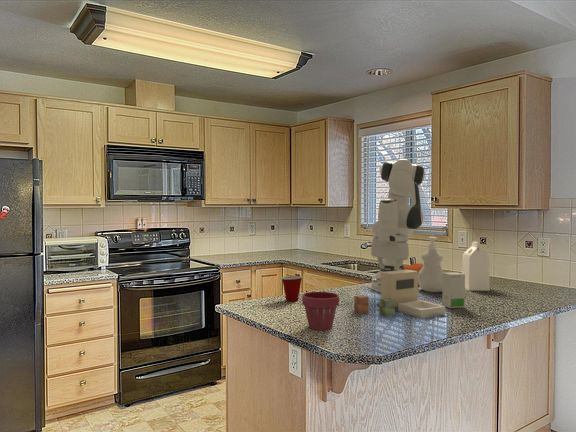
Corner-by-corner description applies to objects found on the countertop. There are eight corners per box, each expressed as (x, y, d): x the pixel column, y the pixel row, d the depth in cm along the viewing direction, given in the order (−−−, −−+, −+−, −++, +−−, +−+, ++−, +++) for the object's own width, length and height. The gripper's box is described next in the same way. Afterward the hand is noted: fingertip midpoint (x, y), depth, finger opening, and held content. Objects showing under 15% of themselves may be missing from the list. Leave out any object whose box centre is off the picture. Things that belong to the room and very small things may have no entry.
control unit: (377, 306, 215) (377, 271, 215) (406, 302, 224) (406, 268, 223) (391, 310, 207) (391, 274, 206) (421, 306, 215) (421, 271, 215)
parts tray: (398, 311, 206) (398, 303, 206) (421, 307, 212) (421, 300, 212) (421, 318, 194) (421, 310, 193) (445, 314, 200) (445, 306, 200)
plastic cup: (290, 297, 236) (290, 273, 235) (307, 300, 229) (307, 276, 228) (276, 300, 227) (276, 276, 227) (293, 304, 220) (293, 279, 220)
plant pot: (336, 322, 188) (336, 290, 187) (341, 332, 174) (341, 298, 173) (301, 322, 187) (301, 291, 187) (303, 332, 173) (303, 298, 173)
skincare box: (449, 308, 211) (450, 274, 210) (441, 305, 217) (441, 272, 217) (465, 307, 213) (465, 273, 213) (456, 304, 220) (457, 271, 219)
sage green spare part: (379, 314, 200) (379, 298, 200) (387, 313, 202) (387, 297, 202) (386, 317, 196) (386, 300, 196) (394, 315, 198) (394, 299, 198)
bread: (389, 283, 274) (389, 266, 274) (414, 278, 291) (415, 261, 291) (411, 287, 262) (411, 268, 262) (437, 281, 280) (437, 264, 279)
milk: (489, 290, 252) (490, 243, 251) (468, 290, 253) (469, 243, 252) (481, 286, 264) (481, 241, 263) (460, 286, 265) (461, 241, 264)
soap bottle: (451, 292, 248) (452, 237, 247) (438, 294, 241) (439, 238, 240) (425, 287, 261) (425, 235, 260) (412, 289, 254) (412, 236, 253)
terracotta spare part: (354, 311, 206) (354, 295, 206) (362, 310, 208) (362, 294, 208) (360, 313, 202) (360, 297, 202) (368, 312, 204) (368, 296, 204)
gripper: (367, 235, 205) (367, 266, 206) (399, 238, 187) (399, 272, 188) (378, 235, 208) (379, 265, 209) (411, 237, 190) (411, 270, 191)
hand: (389, 268), depth 198 cm, fingers open, 8 cm apart
